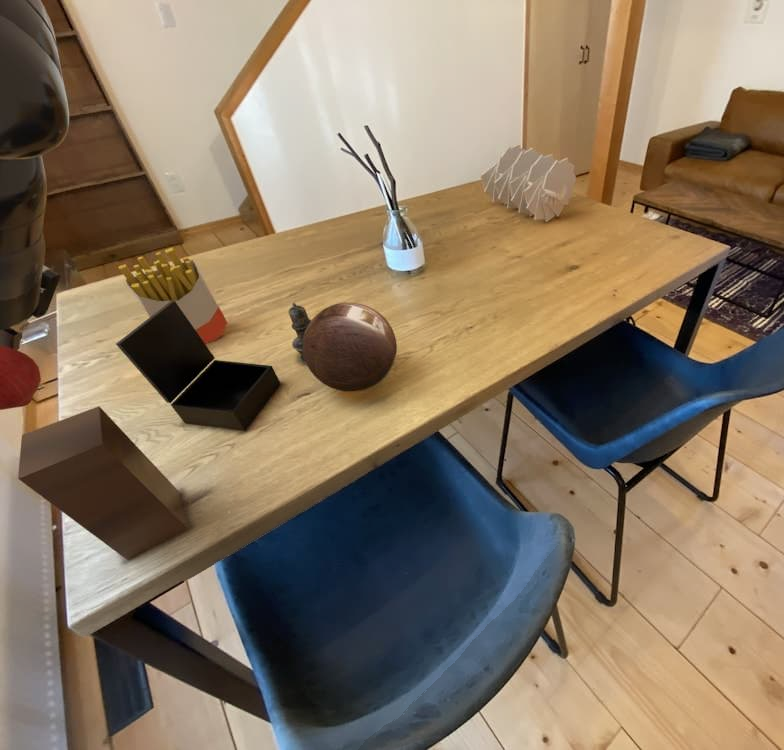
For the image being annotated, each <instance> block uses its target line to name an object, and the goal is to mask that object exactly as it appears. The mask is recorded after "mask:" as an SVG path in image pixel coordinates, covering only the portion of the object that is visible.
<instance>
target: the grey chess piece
mask: <svg viewBox="0 0 784 750" xmlns="http://www.w3.org/2000/svg"><path fill="white" fill-rule="evenodd" d="M288 315H289V318H290V320H291V323H292V324H291V328H292V330H294V331H295V334H296V337H295V338H294V339H293V341H292V343H291V345H292V348H293V349H294V350H295V351H297V353H298V354H299V360H300V362H301V363H302V364H304V365H307V364H306V361H305V358H304V354H303V338H304V334H305V331H306V329H307V327H308V325H309V323H310V322H311V320H312V319H311V318H309V315H308V313H307V311H306V308H305V307H304V306H302V305H299V304H298V305H297V303H295V302H292V306H291V307H290V308H289V310H288Z"/></svg>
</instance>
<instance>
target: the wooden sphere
mask: <svg viewBox="0 0 784 750" xmlns="http://www.w3.org/2000/svg"><path fill="white" fill-rule="evenodd" d="M310 320H311V322H310V323H309V325H308V327H307V329H306V331H305V334H304V338H303V354H304V358H305V361H306V364H305V365H306V366H307V368H308V369H309V372H310V373H311V374H312V375H313V376H314V377H315V379H317V380H318V381H319V382H320V383H322V384H323V385H325V386H327V387H329V388H331V389H333V390H336V391H341V392H348V393H349V392H350V393H351V392H361V391H364V390H368V389H371V388H372V387H374V386H376V385H378V384H379V383H381V382H382V380H384V379H385V378H386V377H387V376H388V374H389V373H390V371H391V370H392V368H393V366H394V364H395V362H396V358H397V350H398V345H397V338H396V335H395V332H394V330H393V328H392V325H391V324H390V323H389V322H388V320H387V319H386V318H385V317H384V315H382V314H381V313H380V312H379V311H378V310H376V309H374V308H372V307H370V306H368V305H366V304H363V303H358V302H340V303H339V302H338V303H336V304H332V305H330V306H328V307H325V308H323V309H322V310H321V311H319V312H318V313H317V314H316V315H315V316H314V317H313V318H312V319H310Z"/></svg>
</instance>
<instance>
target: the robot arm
mask: <svg viewBox="0 0 784 750" xmlns="http://www.w3.org/2000/svg"><path fill="white" fill-rule="evenodd" d="M47 12H48V11H47V10H46V7H45V6H44V4H43V2H42V0H0V345H2V346H6V347H9V348H12V349H15V350H18V351H19V350H20V347H21V346H20V345H21V340H22V339H23V333H24V332H25V331H26V330H28V328H29V327H30V325H31V323H30V322H29V321H28V320H29V319H30V318H32V317H34V318H36V319H39V318H41V317H43V316H45V315H46V314H47V312H48V311H49V308H50V305H51V303H52V300H53V297H54V295H55V292H56V290H57V288H58V284H59V282H60V280H61V274H59V273H57V272H55V271H54V270H52V269H51V268H49V267H47V266H46V265H45V256H46V240H45V234H44V225H45V217H46V209H47V202H48V184H47V175H46V170H45V169H46V168H45V164H44V159H43V156H45V155H46V154H49V153H51V152H53V151H54V150H56V149H57V148H58V147H59V146H60V145H62V143H63V142H64V140H65V139H66V136H67V134H68V131H69V128H70V108H69V102H68V96H67V91H66V86H65V82H64V78H63V71H62V66H61V60H60V56H59V51H58V44H57V39H56V34H55V30H54V27H53V24H52V21H51V18H50V16H49V14H48V13H47Z"/></svg>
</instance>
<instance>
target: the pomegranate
mask: <svg viewBox="0 0 784 750" xmlns="http://www.w3.org/2000/svg"><path fill="white" fill-rule="evenodd" d="M41 378H42V377H41V370H40V367H39V365H38V364H37V362H36V361H35V360H34V359H33V358H31V357H30V356H29V355H28V354H26V353H24V352H22V351H19V349H18V350H15V349H12V348H9V347H6V346H2V345H0V411H2V410H3V411H4V410H8V409H15V408H22V407H26V406H28V405H29V404H31V402H32V401H33V397H34V395H35V394H36V392H37V390H38V389H39V386H40V384H41V381H42V379H41Z"/></svg>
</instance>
